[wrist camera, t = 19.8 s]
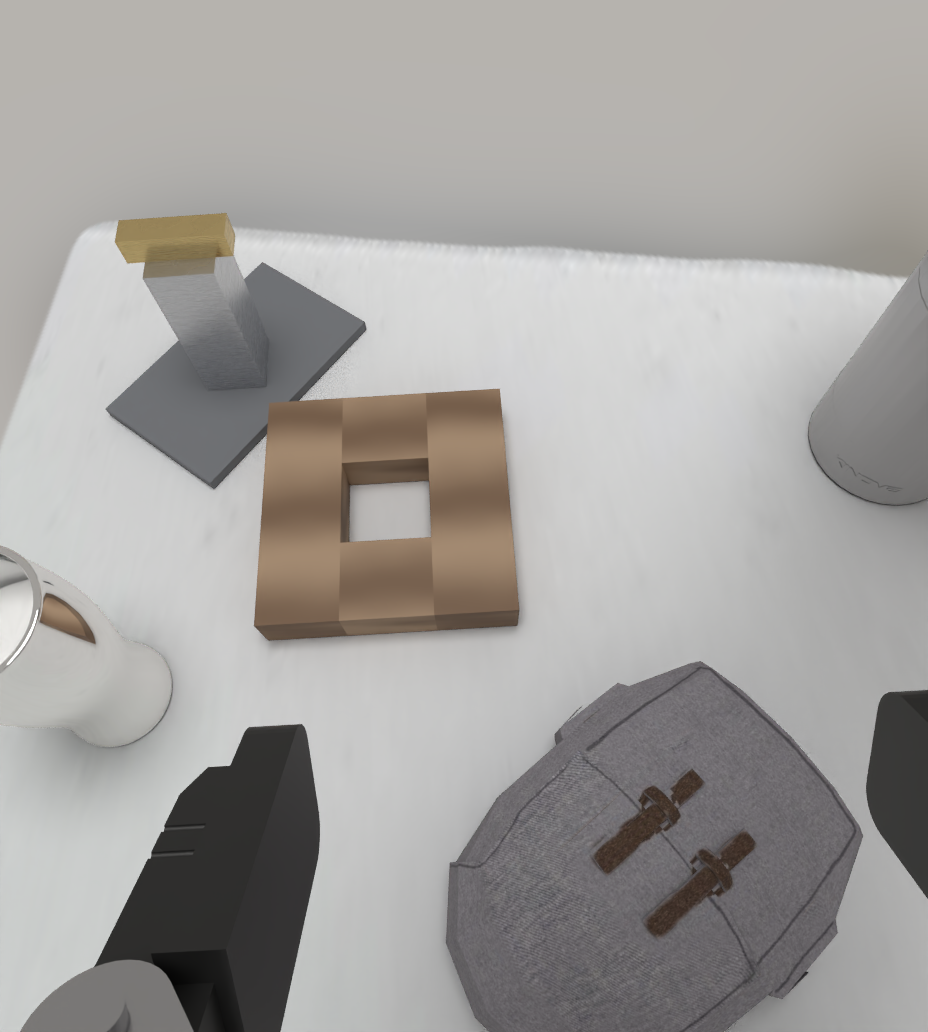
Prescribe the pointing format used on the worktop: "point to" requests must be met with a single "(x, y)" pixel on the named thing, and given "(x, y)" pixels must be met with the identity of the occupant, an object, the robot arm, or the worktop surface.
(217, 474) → the slate mat
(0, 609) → the beer glass
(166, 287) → the t key
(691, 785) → the grey rounded bag
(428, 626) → the socket block
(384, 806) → the worktop surface
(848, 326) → the worktop surface
